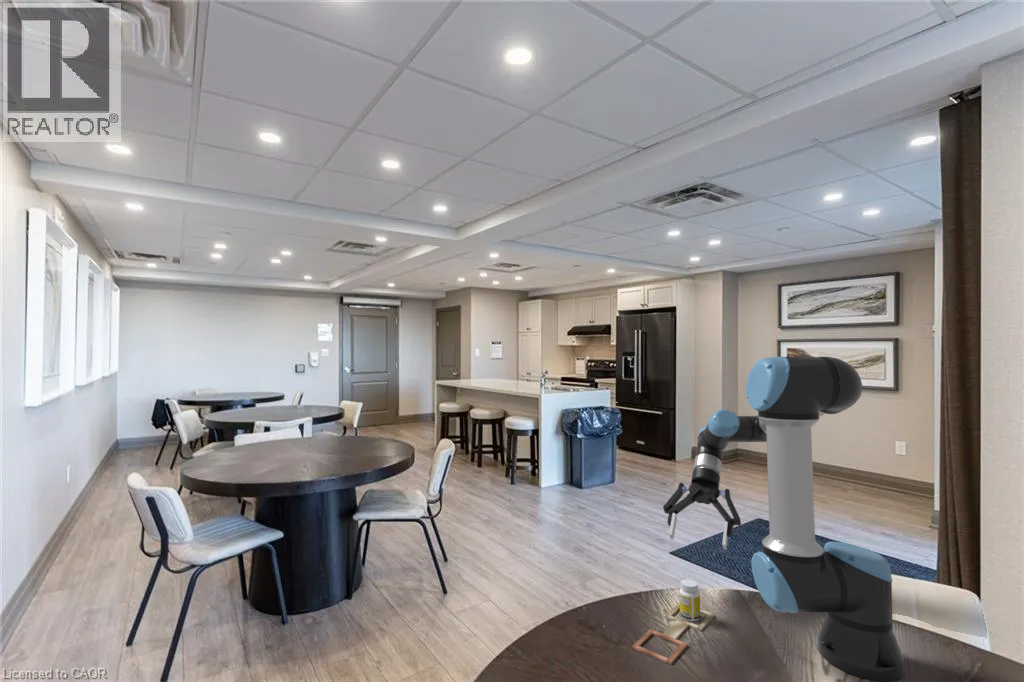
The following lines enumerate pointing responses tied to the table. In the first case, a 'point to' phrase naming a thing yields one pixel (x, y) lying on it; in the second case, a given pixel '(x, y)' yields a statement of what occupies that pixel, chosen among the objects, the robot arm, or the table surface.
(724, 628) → the table surface
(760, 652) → the table surface
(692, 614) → the supplement bottle
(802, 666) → the table surface
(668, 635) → the linked wooden frames
